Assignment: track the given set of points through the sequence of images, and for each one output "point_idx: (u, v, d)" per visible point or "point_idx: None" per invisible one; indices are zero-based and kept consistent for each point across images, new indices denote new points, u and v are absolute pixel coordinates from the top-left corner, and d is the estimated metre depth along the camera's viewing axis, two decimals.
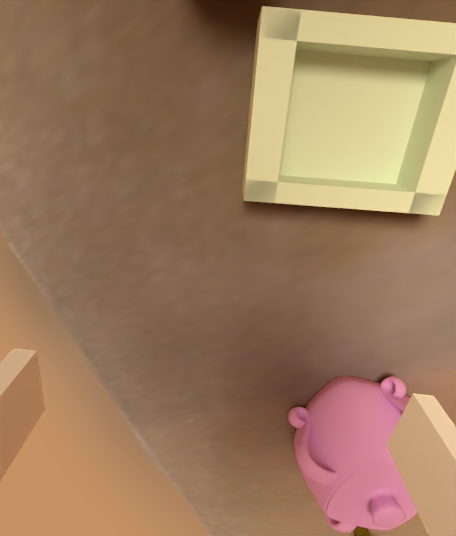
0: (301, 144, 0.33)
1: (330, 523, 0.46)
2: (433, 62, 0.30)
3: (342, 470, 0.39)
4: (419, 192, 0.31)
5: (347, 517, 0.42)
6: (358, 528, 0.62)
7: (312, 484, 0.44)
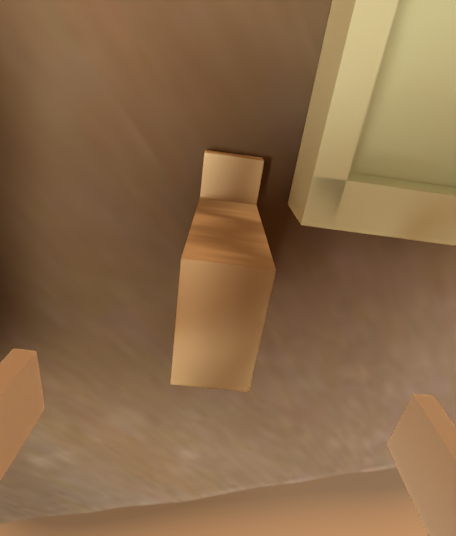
0: (451, 148, 0.22)
1: None
2: None
3: None
4: None
5: None
6: None
7: None
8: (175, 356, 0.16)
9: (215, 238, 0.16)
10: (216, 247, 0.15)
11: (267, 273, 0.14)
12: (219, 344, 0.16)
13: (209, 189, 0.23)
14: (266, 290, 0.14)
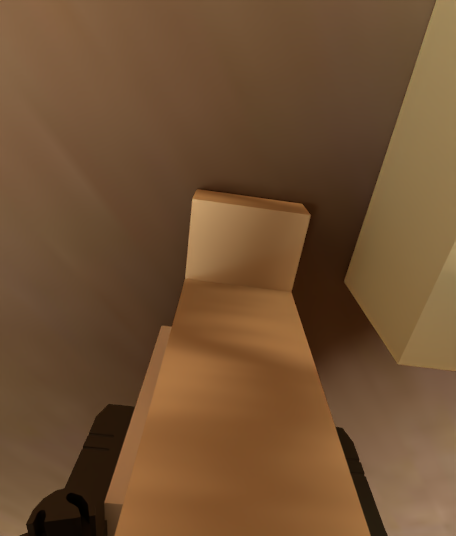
0: None
1: None
2: None
3: None
4: None
5: None
6: None
7: None
8: None
9: (207, 511, 0.05)
10: None
11: None
12: None
13: (202, 265, 0.12)
14: None
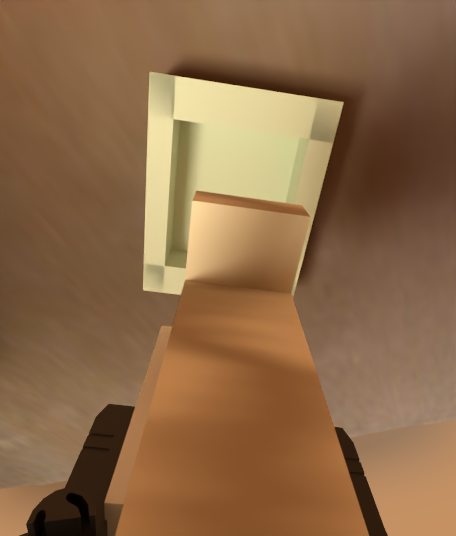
0: None
1: None
2: None
3: None
4: (309, 134, 0.27)
5: None
6: None
7: None
8: None
9: (207, 516, 0.05)
10: None
11: None
12: None
13: (202, 267, 0.12)
14: None
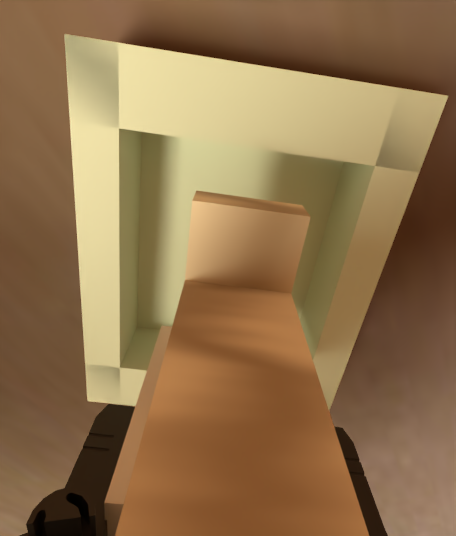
0: None
1: None
2: None
3: None
4: (377, 156, 0.14)
5: None
6: None
7: None
8: None
9: (207, 515, 0.05)
10: None
11: None
12: None
13: (202, 267, 0.12)
14: None
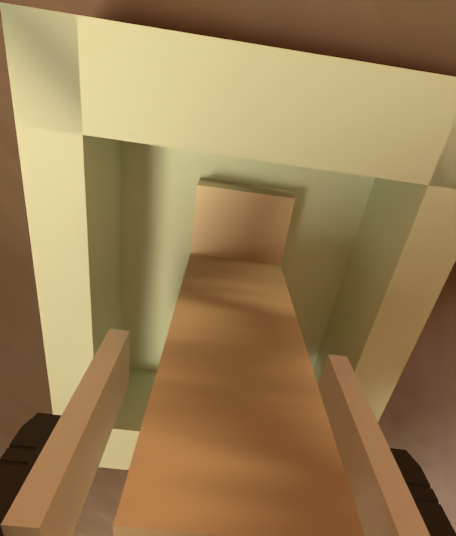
0: None
1: None
2: None
3: None
4: (432, 172, 0.10)
5: None
6: None
7: None
8: None
9: (211, 394, 0.08)
10: (211, 435, 0.07)
11: None
12: None
13: (204, 242, 0.14)
14: None
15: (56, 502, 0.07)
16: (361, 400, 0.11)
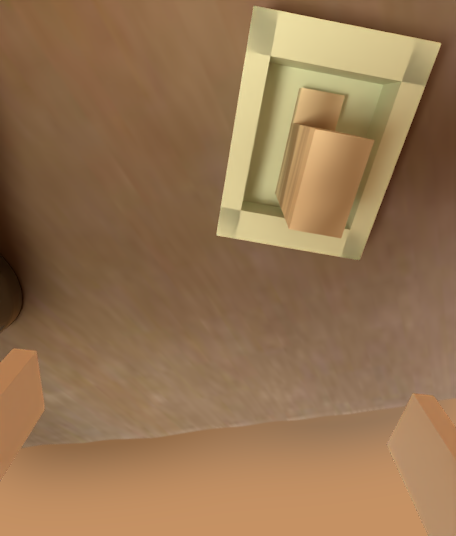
0: None
1: None
2: (268, 61, 0.30)
3: None
4: (403, 75, 0.27)
5: None
6: None
7: None
8: (296, 205, 0.24)
9: (325, 130, 0.24)
10: (330, 131, 0.23)
11: (368, 142, 0.22)
12: (327, 197, 0.24)
13: (301, 117, 0.31)
14: (366, 155, 0.22)
15: None
16: None
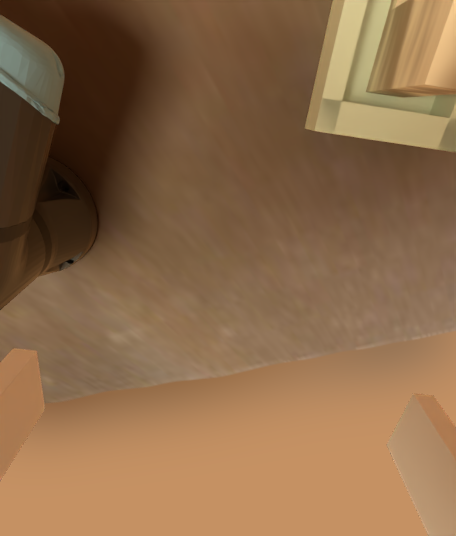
0: None
1: None
2: None
3: None
4: None
5: None
6: None
7: None
8: (436, 56, 0.24)
9: None
10: None
11: None
12: None
13: (403, 0, 0.31)
14: None
15: None
16: None
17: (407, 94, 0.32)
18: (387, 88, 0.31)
